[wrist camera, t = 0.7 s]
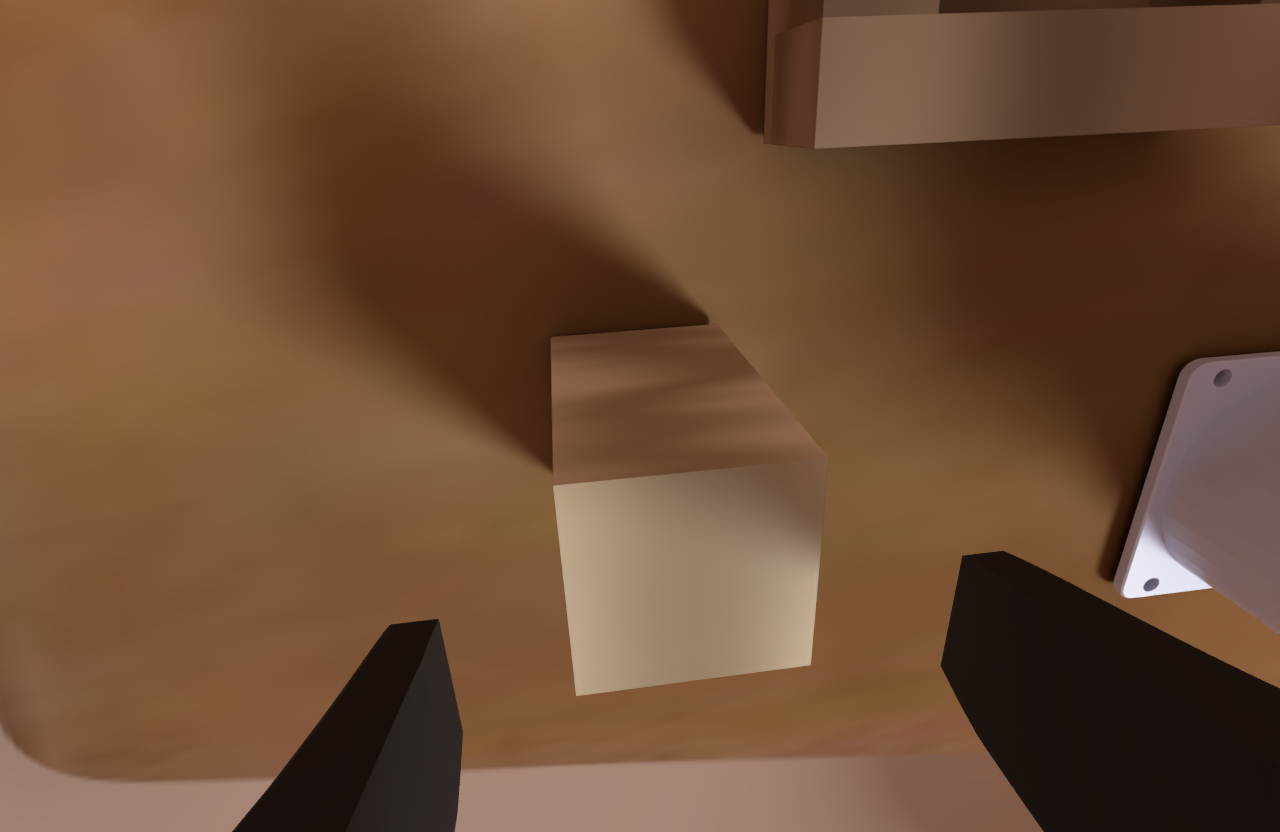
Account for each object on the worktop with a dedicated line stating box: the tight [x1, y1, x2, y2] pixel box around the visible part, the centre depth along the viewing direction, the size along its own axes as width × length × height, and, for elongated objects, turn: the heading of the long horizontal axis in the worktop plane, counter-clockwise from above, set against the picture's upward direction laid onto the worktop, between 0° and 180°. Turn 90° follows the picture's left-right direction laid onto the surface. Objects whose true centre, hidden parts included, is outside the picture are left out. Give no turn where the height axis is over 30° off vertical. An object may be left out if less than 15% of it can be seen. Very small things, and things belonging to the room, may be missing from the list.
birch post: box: [551, 324, 829, 696], centre depth 13 cm, size 4×4×7 cm
